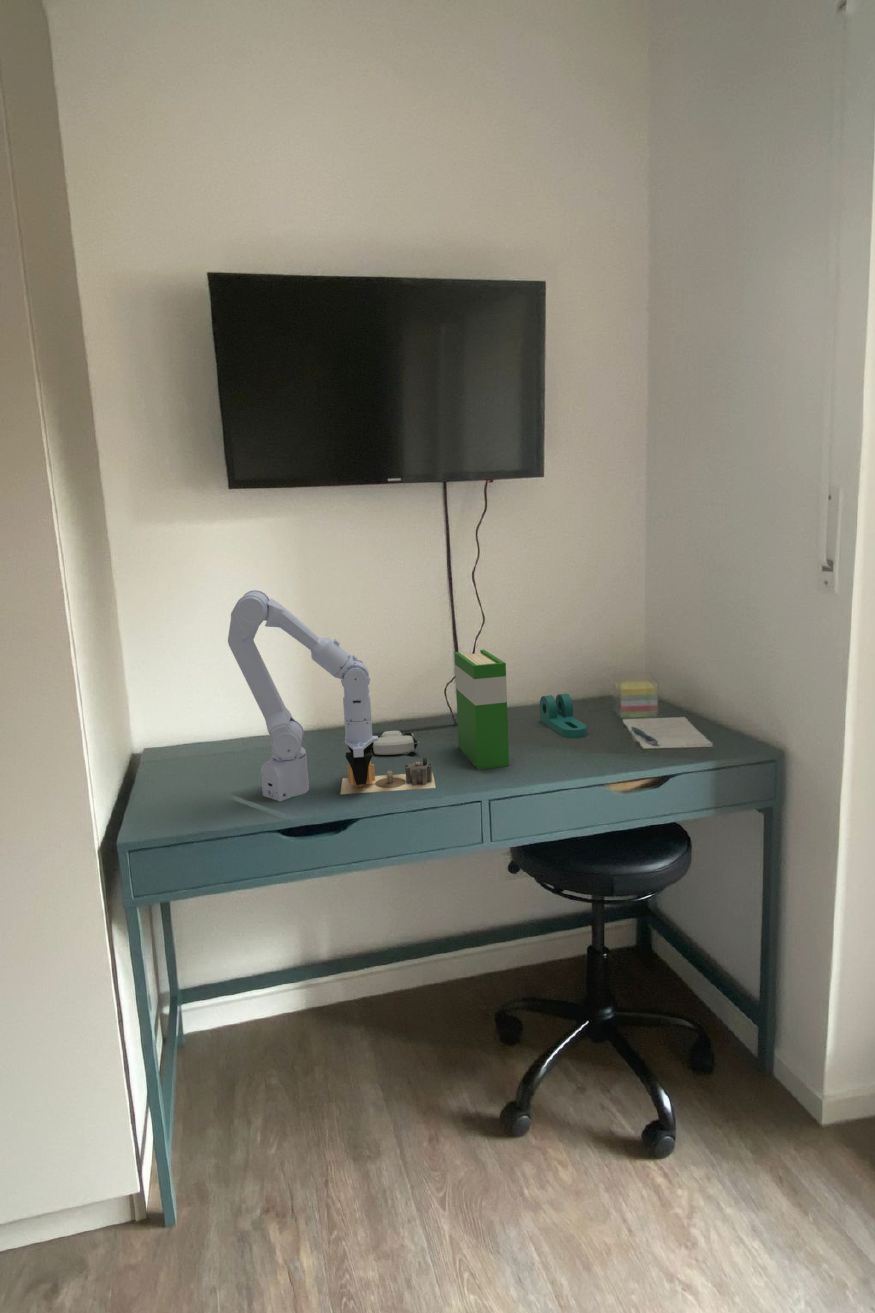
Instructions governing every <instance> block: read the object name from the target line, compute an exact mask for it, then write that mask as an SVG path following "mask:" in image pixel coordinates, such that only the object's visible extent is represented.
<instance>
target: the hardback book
mask: <svg viewBox="0 0 875 1313" xmlns="http://www.w3.org/2000/svg"><path fill="white" fill-rule="evenodd" d="M454 665H455V666H454V670H455V671H454V674H455V694H456V695H455V696H456V715H457V737H458V748H459V750H461V752H462V753H463V754H464V755H465V756H466V758H467V759H468V760H469V761H470V762H471V764H472V765H473V766H474V768H476V769H477V770H479V771H480V770H485V769H487V770H488V769H493V768H503V767H509V766H510V756H509V755H510V751H509V727H508V726H509V725H508V724H509V723H508V722H509V720H508V719H509V718H508V693H507V690H508V688H507V687H508V686H507V663H506V662H505V661H503V660H501V659H500V658H498V657H497V656H495V655H494V654H493V653H490V652H489V651H487V650H485V649H480V651H479V652H478V653H477V652H476V653H467V654H462V653H461V652H459V651H455V652H454Z"/></svg>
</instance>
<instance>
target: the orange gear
mask: <svg viewBox="0 0 875 1313" xmlns="http://www.w3.org/2000/svg"><path fill="white" fill-rule="evenodd" d="M375 776H376V772H375V764H374V763H372V761H370V763H369V767H368V776H367V782H366V784H371V783H372V781H375ZM347 778H348V782H351V785H355V784H356V782H355V779H354V775H353V771H352V768H351V766H350V765H347ZM360 786H362V785H360Z"/></svg>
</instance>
